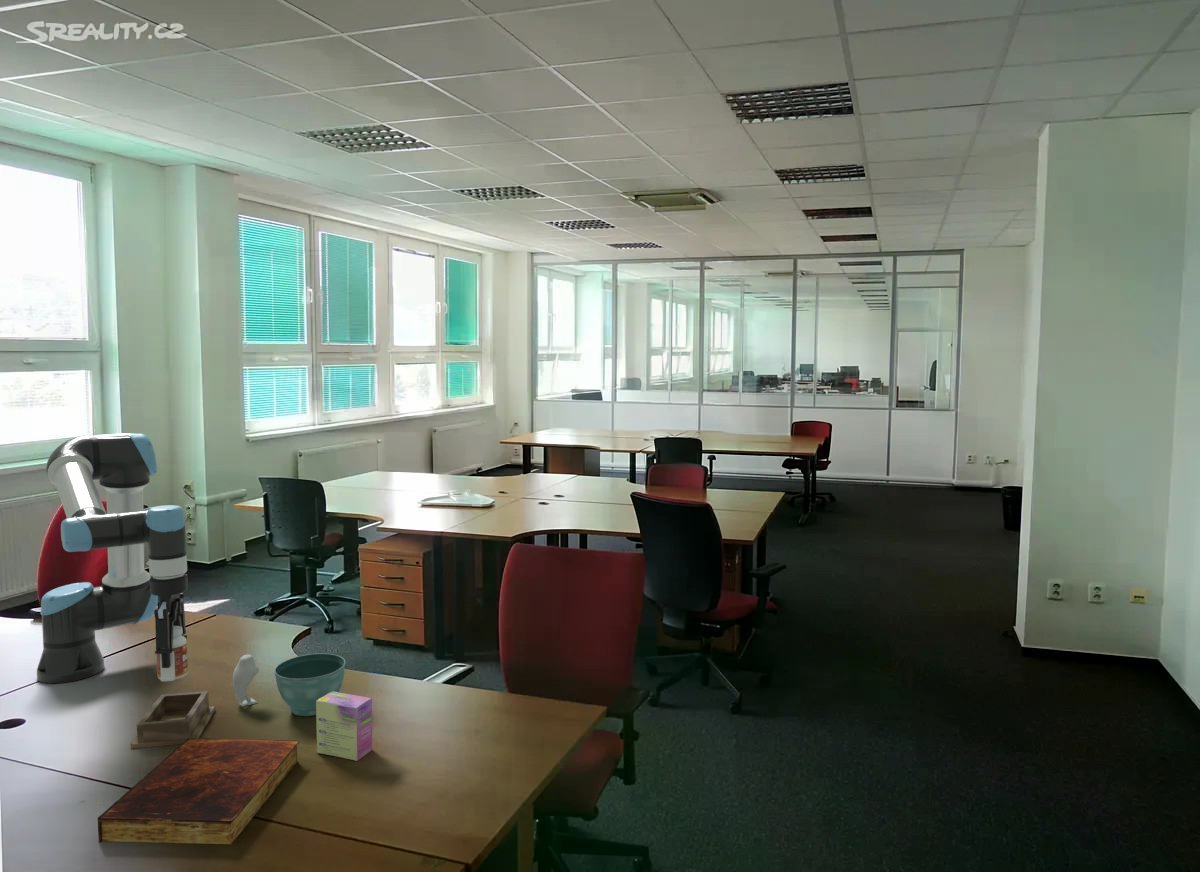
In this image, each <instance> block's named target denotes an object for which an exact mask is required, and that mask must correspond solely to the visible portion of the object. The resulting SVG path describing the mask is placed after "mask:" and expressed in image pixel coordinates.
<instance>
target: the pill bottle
mask: <svg viewBox="0 0 1200 872" xmlns="http://www.w3.org/2000/svg"><path fill="white" fill-rule="evenodd" d="M182 633H183V630H182V627H181V626H173V646H172V651H174V661H175V680H174V681H176V680H178V679H181V678H182V679H183V678H184V677H186V676H187V675H188V674H189V664H188V663H189V661H188V643H187V641H188V639H186V638H185V637H184V636H182ZM155 655H156V672H157V673H156V674H157V675H156V676H157V678H158V680H160V681H161V669H160V654H155Z"/></svg>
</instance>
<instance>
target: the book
mask: <svg viewBox="0 0 1200 872" xmlns="http://www.w3.org/2000/svg"><path fill="white" fill-rule="evenodd" d="M298 744H300V740H296V739H293V740H292V739H291V740H289V739H248V738H247V739H246V738H245V739H244V738H243V739H242V738H241V739H238V738H237V739H236V738H200V737H199V738H191V739H190V738H188V739H187V740H186V741H185V742H184V743H182V744H179V746H178V747H177V748H176V749H174V750H173V751H172V752H171V753H170V754H169V755H168V756H166V757H165V759H164V758H163V760H162V761H160V762H159V764H157V765H156V766H155V767H154V768H153V769H151V771H149V772H148V773H147V774H146V775H145V776H143V777H142V779H140V780H138V782H137V783H136V784H134V785H133V786H132V787H131V788H130V789H129V790H128V791H126V792H125V793H124V794H123V795H121V797H120V798H118V799H117V800H116V801H115V802H114V803H113V804H111V806H109V808H107V809H106V810H105V811H104V812H102V813H101V814H100V815H99V816H98V817H97V831H98V832H97V833H98V836H97V837H98V843H102V842H105V843H106V842H108V843H110V842H111V843H112V842H114V843H115V842H116V843H119V842H120V843H158V844H159V843H163V844H167V843H168V844H205V845H207V844H209V845H210V844H211V845H212V844H213V845H232V844H233V843H234V841H235V840H236V839H237V837H239V835H240V834H241V832H243V830H244V829H245V828H246V827H247V825H248V824H249V823H250V821H251V820H252V819H253V817H254V816H255V815H256V814H257V813H258V812H259V810H260V809H261V808H262V806H263V805H264V804H265V803H266V802H267V800H268V799H269V797H270V796H271V795H272V794H273V793H274V792H275V791H276V789H277V788H278V787H279V785H280V784H281V782H283V780H285V777H287V775H288V774H289V772H291V770H292V769H293V768H294V767H295V765H296V764H297V763H298Z"/></svg>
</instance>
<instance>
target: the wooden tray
mask: <svg viewBox="0 0 1200 872" xmlns="http://www.w3.org/2000/svg"><path fill="white" fill-rule="evenodd" d="M215 711H216V706H215V705H214V706H210V701H209V691H208V690H206V691H205V690H203V691H194V692H193V691H192V692H191V691H190V692H179V693H178V692H177V693H166V694H165V693H164V694H160V695H159V696H158V697H157V699H156V700H155V701H154V702H153V704H152V705H151V707H150V708H149V709H148V710H147V712H146V713H145V714H144V715H143V716H142V718H141V719H140V720H139V721H138V722H137V724H136V736H135V738H134V739H133V740H132V741H131V742H130V749H141V748H153V747H164V746H175V745H176V746H177V745H181V744H182V743H184V742H185V741H186V740H187V739H188V738H190V739H191V738H200V736H201V735H202V733H203V731H204V729H205V728H206V726H207V725H208V723H209V721H210V720H211V718H212V716H213V715H214V713H215Z"/></svg>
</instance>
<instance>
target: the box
mask: <svg viewBox="0 0 1200 872" xmlns="http://www.w3.org/2000/svg"><path fill="white" fill-rule="evenodd" d="M315 716H316V717H315V719H316V720H315V721H316V724H315V725H316V726H315V727H316V753H317V754H321V755H327V756H332V757H333V756H334V757H338V758H343V759H346V760H347V759H348V760H351V761H354V762H357V761H359V760H361V759H363V757H364V756H366V755H367V754H369V753H370V752H371V751H373V698H372V697H367V696H363V695H355V694H350V693H344V692H340V691H339V692H334V691H332V692H330V693H328V694H326V695H325V696H323V697H321V698H320V699H318V700H317V701H316V715H315Z"/></svg>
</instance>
